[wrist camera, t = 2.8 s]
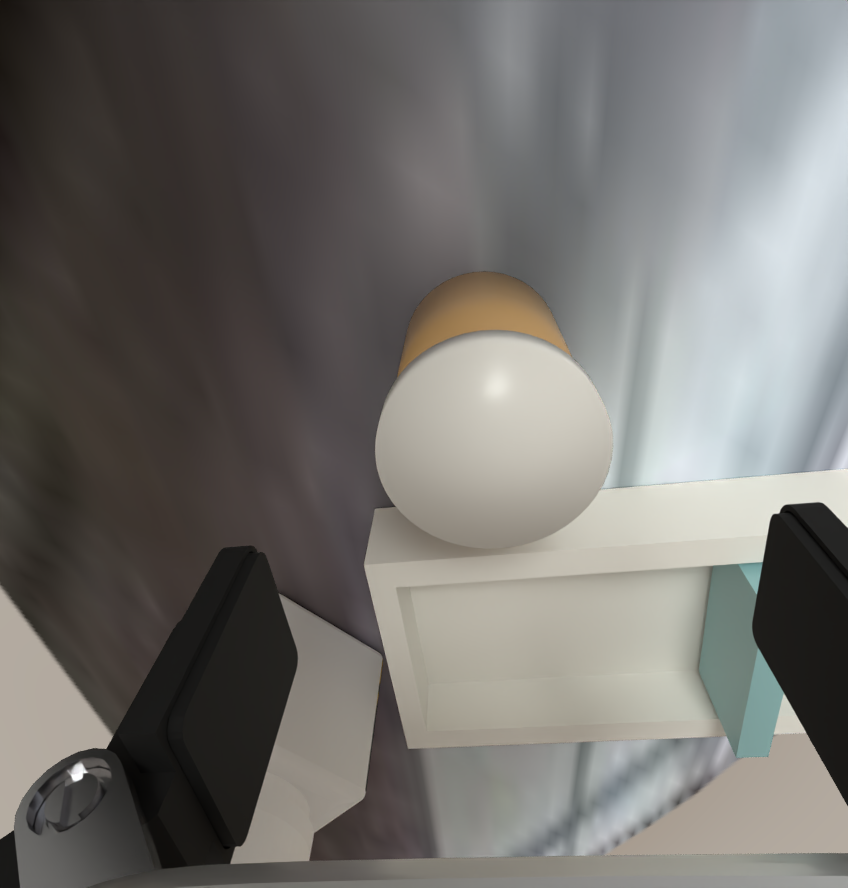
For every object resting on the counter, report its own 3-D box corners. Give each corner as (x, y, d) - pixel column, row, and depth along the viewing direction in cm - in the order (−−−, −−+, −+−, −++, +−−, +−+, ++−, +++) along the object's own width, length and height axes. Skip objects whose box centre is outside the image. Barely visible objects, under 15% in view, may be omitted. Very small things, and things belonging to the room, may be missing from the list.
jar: (387, 276, 20) (354, 360, 13) (561, 255, 19) (615, 330, 13) (412, 427, 23) (394, 556, 16) (565, 412, 22) (611, 539, 16)
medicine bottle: (306, 720, 32) (234, 1016, 22) (190, 658, 30) (48, 953, 20) (386, 653, 29) (348, 958, 19) (264, 580, 27) (144, 876, 17)
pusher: (717, 531, 23) (765, 609, 19) (835, 522, 22) (907, 600, 19) (698, 671, 27) (735, 757, 23) (799, 666, 26) (853, 753, 23)
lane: (375, 508, 25) (353, 615, 19) (860, 467, 23) (982, 575, 17) (412, 683, 30) (404, 805, 25) (808, 663, 28) (889, 790, 23)
